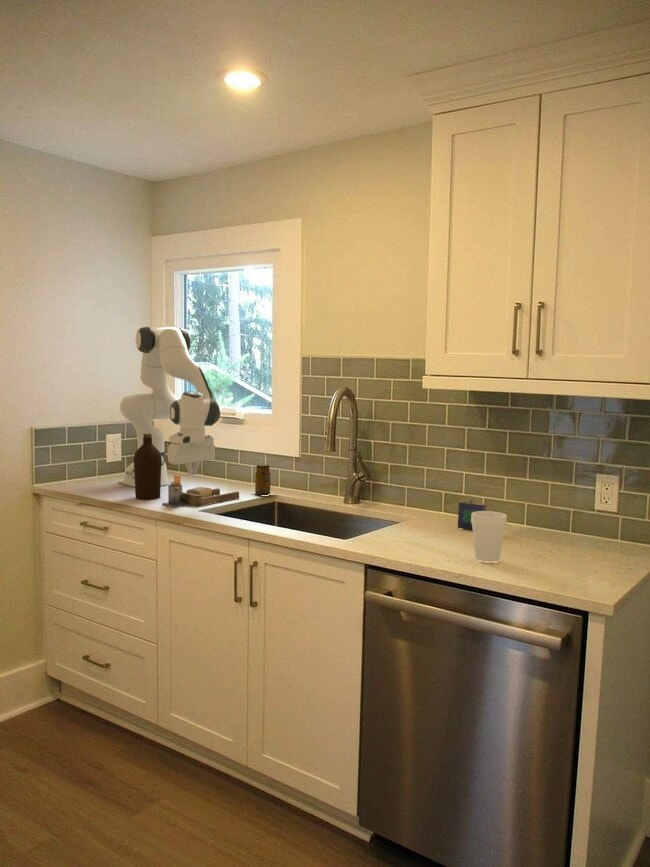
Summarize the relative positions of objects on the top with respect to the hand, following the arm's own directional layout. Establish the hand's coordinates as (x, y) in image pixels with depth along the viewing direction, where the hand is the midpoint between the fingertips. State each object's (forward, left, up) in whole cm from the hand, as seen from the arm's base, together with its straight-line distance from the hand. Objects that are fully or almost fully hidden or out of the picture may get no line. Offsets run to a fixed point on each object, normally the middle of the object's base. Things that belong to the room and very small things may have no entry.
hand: (192, 474), depth 265 cm
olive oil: (-27, +2, -13) cm, 30 cm away
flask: (+94, +35, -13) cm, 101 cm away
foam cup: (+114, +3, -12) cm, 115 cm away
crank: (-4, -4, -5) cm, 7 cm away
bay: (-6, +14, -12) cm, 20 cm away
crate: (-5, +9, -12) cm, 16 cm away
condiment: (+2, +37, -13) cm, 39 cm away
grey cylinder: (-8, -1, -12) cm, 15 cm away
